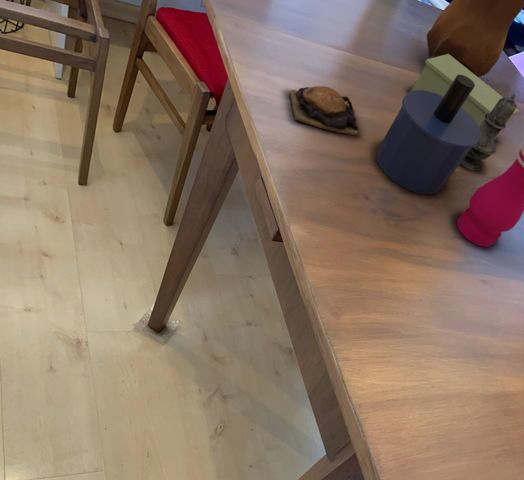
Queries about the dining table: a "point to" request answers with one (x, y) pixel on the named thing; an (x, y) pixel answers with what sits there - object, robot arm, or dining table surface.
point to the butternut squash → (473, 32)
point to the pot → (416, 157)
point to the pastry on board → (324, 109)
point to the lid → (444, 114)
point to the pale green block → (441, 77)
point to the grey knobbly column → (489, 133)
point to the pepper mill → (495, 206)
